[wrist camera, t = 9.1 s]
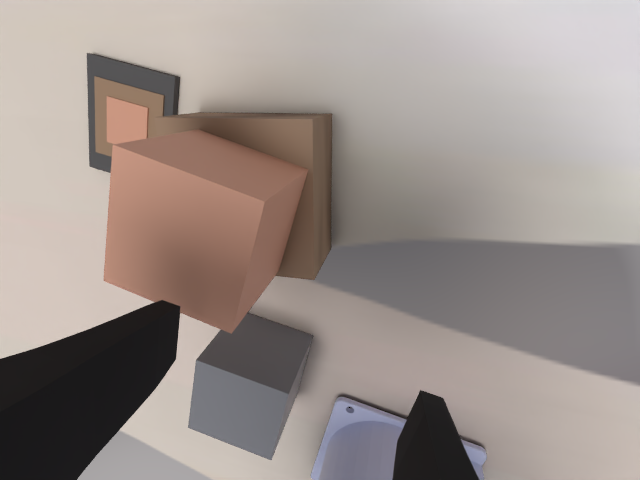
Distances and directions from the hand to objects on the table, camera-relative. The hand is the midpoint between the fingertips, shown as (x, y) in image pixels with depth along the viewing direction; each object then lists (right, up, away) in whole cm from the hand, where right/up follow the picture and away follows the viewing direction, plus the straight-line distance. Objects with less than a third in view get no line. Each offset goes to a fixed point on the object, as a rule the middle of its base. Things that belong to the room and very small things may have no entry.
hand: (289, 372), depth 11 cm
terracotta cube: (-3, +5, +6) cm, 8 cm away
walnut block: (-2, +7, +10) cm, 12 cm away
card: (-9, +10, +10) cm, 17 cm away
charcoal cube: (-2, -3, +14) cm, 14 cm away
